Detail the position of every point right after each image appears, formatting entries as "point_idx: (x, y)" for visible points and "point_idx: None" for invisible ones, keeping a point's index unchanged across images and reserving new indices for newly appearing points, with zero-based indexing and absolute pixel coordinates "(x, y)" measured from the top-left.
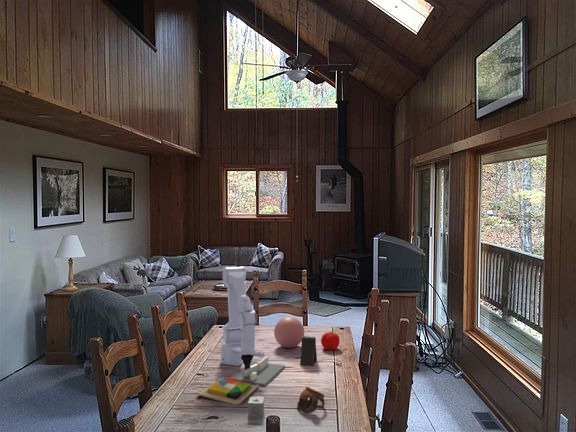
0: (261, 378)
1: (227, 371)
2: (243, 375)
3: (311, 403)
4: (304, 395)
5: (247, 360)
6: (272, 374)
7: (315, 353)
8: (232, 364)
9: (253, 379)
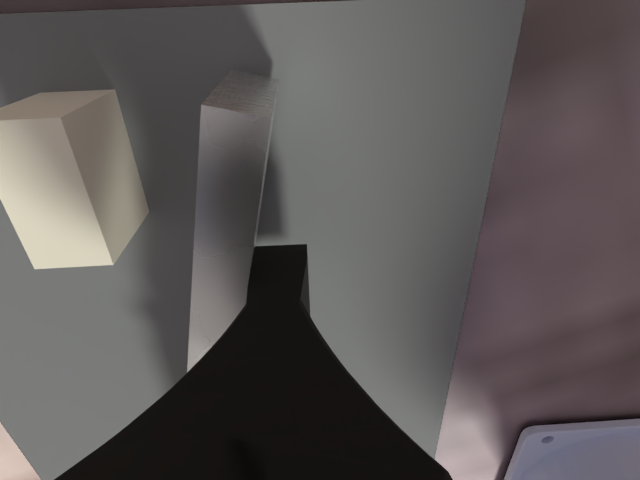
0: (6, 223)
1: (613, 290)
2: (239, 82)
3: None
4: None
5: (132, 450)
6: (2, 379)
7: None
8: (594, 427)
9: (38, 98)
